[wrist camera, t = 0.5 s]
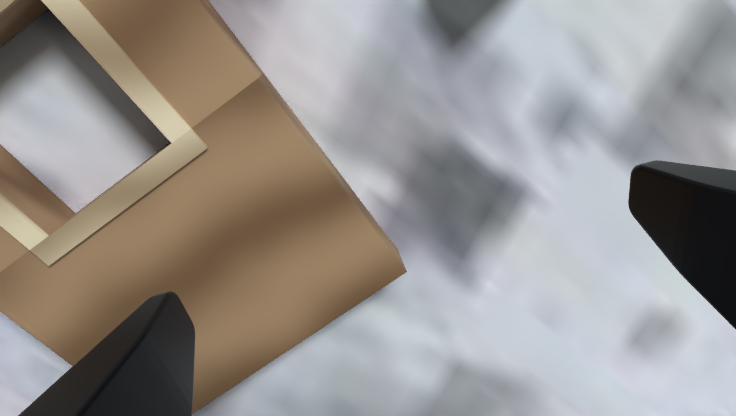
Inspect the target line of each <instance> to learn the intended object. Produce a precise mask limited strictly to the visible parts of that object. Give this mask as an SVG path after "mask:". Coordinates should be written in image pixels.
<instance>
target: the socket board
mask: <svg viewBox="0 0 736 416" xmlns="http://www.w3.org/2000/svg"><path fill="white" fill-rule="evenodd" d="M48 8H49V9H50V10H51V12H52V13H53V14H54V15H55V16H56V17H57V18H58V19H59V20H60V21H61V23H62V24H63V25H64V26H65V27H66V28H67V29H68V30H69V31H70V32H71V34H72V35H73V36H74V37H75V38H76V39H77V40H78V41H79V42H80V43H81V44H82V46H83V47H84V48H85V49H86V50H87V51H88V52H89V53H90V54H91V55H92V57H93V58H94V59H95V60H96V61H97V62H98V63H99V64H100V65H101V66H102V68H103V69H104V70H105V71H106V72H107V73H108V74H109V75H110V76H111V77H112V79H113V80H114V81H115V82H116V83H117V84H118V85H119V86H120V87H121V88H122V89H123V91H124V92H125V93H126V94H127V95H128V96H129V97H130V98H131V99H132V100H133V102H134V103H135V104H136V105H137V106H138V107H139V108H140V109H141V110H142V111H143V113H144V114H145V115H146V116H147V117H148V118H149V119H150V120H151V121H152V122H153V123H154V125H155V126H156V127H157V128H158V129H159V130H160V131H161V132H162V133H163V134H164V136H165V137H166V138H167V139H168V140H169V141H170V143H169V144H168V145H166V146H165V147H164V148H162V149H161V150H160V151H158V152H157V153H156V154H154V155H153V156H152V157H150V158H149V159H148V160H146V161H145V162H144V163H142V164H141V165H140V166H138V167H137V168H136V169H134V170H133V171H132V172H130V173H129V174H128V175H126V176H125V177H124V178H122V179H121V180H120V181H118V182H117V183H116V184H114V185H113V186H112V187H110V188H109V189H108V190H106V191H105V192H104V193H102V194H101V195H100V196H98V197H97V198H96V199H94V200H93V201H92V202H90V203H89V204H88V205H87V206H85V207H84V208H83V209H81V210H80V211H79V212H77V213H76V214H75V213H74V212H73V211H72V210H71V209H70V208H69V207H68V206H67V205H66V204H65V203H63V202H62V201H61V200H60V199H59V198H58V197H57V196H56V195H55V194H54V193H53V192H51V191H50V190H49V189H48V188H47V187H46V186H45V185H44V184H43V183H42V182H41V181H39V180H38V179H37V178H36V177H35V176H34V175H33V174H32V173H31V172H30V171H29V170H27V169H26V168H25V167H24V166H23V165H22V164H21V163H20V162H19V161H18V160H17V159H15V158H14V157H13V156H12V155H11V154H10V153H9V152H8V151H7V150H6V149H4V148H3V147H2V146H1V145H0V311H1V312H2V313H3V314H5V315H6V316H7V317H9V318H10V319H11V320H12V321H14V322H15V323H16V324H18V325H19V326H20V327H22V328H23V329H24V330H26V331H27V332H28V333H30V334H31V335H32V336H34V337H35V338H36V339H38V340H39V341H40V342H42V343H43V344H44V345H46V346H47V347H48V348H50V349H51V350H52V351H53V352H55V353H56V354H57V355H59V356H60V357H61V358H63V359H64V360H65V361H67V362H68V363H69V364H71V365H72V366H74V365H75V364H76V363H77V362H78V361H79V360H81V359H82V358H83V357H84V356H85V355H86V354H87V353H88V352H89V351H90V350H92V349H93V348H94V347H95V346H96V345H97V344H98V343H99V342H100V341H102V340H103V339H104V338H105V337H106V336H107V335H108V334H109V333H110V332H112V331H113V330H114V329H115V328H116V327H117V326H118V325H119V324H120V323H121V322H123V321H124V320H125V319H126V318H127V317H128V316H129V315H130V314H131V313H133V312H134V311H135V310H136V309H137V308H138V307H139V306H140V305H141V304H143V303H144V302H145V301H146V300H147V299H148V298H149V297H151V296H153V295H157V294H161V293H164V292H168V291H172V292H175V293H176V294H177V295H178V297H179V298H180V300H181V302H182V304H183V305H184V307H185V309H186V311H187V313H188V315H189V316H190V318H191V320H192V322H193V324H194V328H195V358H194V387H193V406H192V414H193V413H194V412H196V411H197V410H199V409H200V408H202V407H203V406H205V405H206V404H208V403H209V402H211V401H213V400H214V399H216V398H217V397H219V396H220V395H222V394H223V393H225V392H226V391H228V390H229V389H231V388H232V387H234V386H235V385H237V384H238V383H240V382H241V381H243V380H244V379H246V378H247V377H249V376H250V375H252V374H253V373H255V372H256V371H258V370H259V369H261V368H262V367H264V366H265V365H267V364H268V363H270V362H271V361H273V360H274V359H276V358H277V357H279V356H280V355H282V354H283V353H285V352H286V351H288V350H289V349H291V348H292V347H294V346H295V345H297V344H299V343H300V342H302V341H303V340H305V339H306V338H308V337H309V336H311V335H312V334H314V333H315V332H317V331H318V330H320V329H321V328H323V327H324V326H326V325H327V324H329V323H330V322H332V321H333V320H335V319H336V318H338V317H339V316H341V315H342V314H344V313H345V312H347V311H348V310H350V309H351V308H353V307H354V306H356V305H357V304H359V303H360V302H362V301H363V300H365V299H366V298H368V297H369V296H371V295H372V294H374V293H375V292H377V291H378V290H380V289H381V288H383V287H385V286H386V285H388V284H389V283H391V282H392V281H394V280H395V279H397V278H398V277H400V276H401V275H403V274H404V273H406V272H407V271H406V269H405V267H404V264H403V262H402V259H401V257H400V255H399V252H398V250H397V248H396V247H395V246H394V244H393V243H392V242H391V240H390V239H389V238H388V236H387V235H386V234H385V232H384V231H383V230H382V229H381V227H380V226H379V225H378V223H377V222H376V221H375V219H374V218H373V217H372V215H371V214H370V213H369V211H368V210H367V209H366V207H365V206H364V205H363V204H362V202H361V201H360V200H359V198H358V197H357V196H356V194H355V193H354V192H353V190H352V189H351V188H350V186H349V185H348V184H347V182H346V181H345V180H344V179H343V177H342V176H341V175H340V173H339V172H338V171H337V169H336V168H335V167H334V165H333V164H332V163H331V161H330V160H329V159H328V157H327V156H326V155H325V153H324V152H323V151H322V150H321V148H320V147H319V146H318V144H317V143H316V142H315V140H314V139H313V138H312V136H311V135H310V134H309V132H308V131H307V130H306V128H305V127H304V126H303V125H302V123H301V122H300V121H299V119H298V118H297V117H296V115H295V114H294V113H293V111H292V110H291V109H290V107H289V106H288V105H287V103H286V102H285V101H284V99H283V98H282V97H281V96H280V94H279V93H278V92H277V90H276V89H275V88H274V86H273V85H272V84H271V82H270V81H269V80H268V78H267V77H266V76H265V74H264V73H263V72H262V71H261V69H260V68H259V67H258V65H257V64H256V63H255V61H254V60H253V59H252V57H251V56H250V55H249V53H248V52H247V51H246V49H245V48H244V47H243V45H242V44H241V43H240V42H239V40H238V39H237V38H236V36H235V35H234V34H233V32H232V31H231V30H230V28H229V27H228V26H227V24H226V23H225V22H224V20H223V19H222V18H221V17H220V15H219V14H218V13H217V11H216V10H215V9H214V7H213V6H212V5H211V3H210V2H209V1H208V0H0V48H1V47H2V46H3V45H4V44H5V43H7V42H8V41H9V40H10V39H11V38H13V37H14V36H15V35H16V34H17V33H19V32H20V31H21V30H22V29H24V28H25V27H26V26H27V25H28V24H30V23H31V22H32V21H33V20H34V19H36V18H37V17H38V16H39V15H40V14H42V13H43V12H44V11H45V10H47V9H48Z"/></svg>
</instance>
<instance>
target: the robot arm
mask: <svg viewBox="0 0 736 416" xmlns="http://www.w3.org/2000/svg"><path fill="white" fill-rule="evenodd" d="M629 209H630V211H631V213H632V215H633V217H634V218H635V219H636V220H637V221H638V223H639V224H640V225H641V226H642V228H643V229H644V230H645V231H646V233H647V234H648V235H649V236H650V237H651V239H652V240H653V241H654V242H655V244H656V245H657V246H658V247H659V249H660V250H661V251H662V252H663V253H664V255H665V256H666V257H667V258H668V260H669V261H670V262H671V263H672V264H673V266H674V267H675V268H676V269H677V270H678V271H679V273H680V274H681V275H682V276H683V277H684V278H685V279H686V280H687V281H688V282H689V283H690V284H691V285H692V286H693V287H694V288H695V289H696V290H697V291H698V292H699V293H700V294H701V295H702V296H703V297H704V298H705V299H706V300H707V301H708V302H709V303H710V304H711V305H712V306H713V307H714V308H715V309H716V310H717V311H718V312H719V313H720V314H721V315H722V316H723V317H724V318H725V319H726V320H727V321H728V322H729V323H730V324H731V325H732V326H733V327H734V328H735V329H736V171H735V170H727V169H719V168H712V167H704V166H697V165H689V164H681V163H674V162H666V161H657V160H656V161H651V162H647V163H643V164H640V165H637V166H635V167H634V168H633V170H632V172H631V179H630V190H629ZM194 358H195V328H194V324H193V322H192V320H191V318H190V316H189V315H188V313H187V311H186V309H185V307H184V305H183V304H182V302H181V300H180V298H179V297H178V295H177V294H176V293H175V292H172V291H168V292H164V293H161V294H157V295H153V296H151V297H149V298H148V299H147V300H146V301H145V302H144V303H143V304H141V305H140V306H139V307H138V308H137V309H136V310H135V311H134V312H133V313H131V314H130V315H129V316H128V317H127V318H126V319H125V320H124V321H123V322H121V323H120V324H119V325H118V326H117V327H116V328H115V329H114V330H113V331H112V332H110V333H109V334H108V335H107V336H106V337H105V338H104V339H103V340H102V341H100V342H99V343H98V344H97V345H96V346H95V347H94V348H93V349H92V350H90V351H89V352H88V353H87V354H86V355H85V356H84V357H83V358H82V359H81V360H79V361H78V362H77V363H76V364H75V365H74V366H73V367H72V368H71V369H69V370H68V371H67V372H66V373H65V374H64V375H63V376H62V377H61V378H59V379H58V380H57V381H56V382H55V383H54V384H53V385H52V386H51V387H49V388H48V389H47V390H46V391H45V392H44V393H43V394H42V395H41V396H40V397H38V398H37V399H36V400H35V401H34V402H33V403H32V404H31V405H30V406H28V407H27V408H26V409H25V410H24V411H23V412H22V413H21V414H20V415H18V416H191V415H192V406H193V387H194Z"/></svg>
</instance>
